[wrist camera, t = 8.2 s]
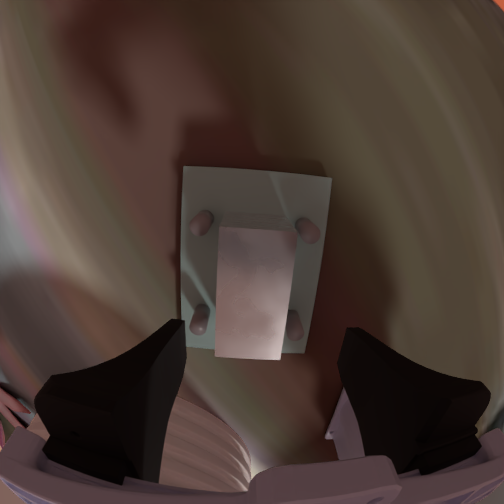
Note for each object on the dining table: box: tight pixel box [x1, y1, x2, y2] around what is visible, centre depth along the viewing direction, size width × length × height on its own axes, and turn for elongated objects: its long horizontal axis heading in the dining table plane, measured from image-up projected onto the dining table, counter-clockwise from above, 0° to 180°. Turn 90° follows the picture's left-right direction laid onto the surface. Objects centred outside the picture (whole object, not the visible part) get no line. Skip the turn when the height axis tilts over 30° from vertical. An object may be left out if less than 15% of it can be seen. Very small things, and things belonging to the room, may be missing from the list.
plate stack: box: [26, 396, 251, 492], centre depth 24 cm, size 28×28×12 cm
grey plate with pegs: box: [181, 166, 332, 353], centre depth 20 cm, size 14×10×4 cm
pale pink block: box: [215, 211, 298, 360], centre depth 18 cm, size 8×4×5 cm, turn 176°
